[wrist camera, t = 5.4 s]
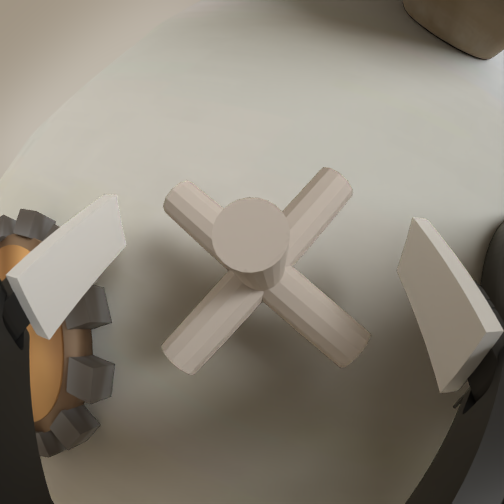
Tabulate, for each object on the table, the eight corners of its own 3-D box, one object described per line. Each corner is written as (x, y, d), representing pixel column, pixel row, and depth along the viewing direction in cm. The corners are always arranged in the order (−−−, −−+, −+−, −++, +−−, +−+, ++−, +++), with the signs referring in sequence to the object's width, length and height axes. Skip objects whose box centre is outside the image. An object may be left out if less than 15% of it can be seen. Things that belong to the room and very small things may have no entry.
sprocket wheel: (89, 181, 19) (72, 167, 17) (155, 445, 14) (138, 459, 12) (-30, 262, 19) (-45, 257, 17) (5, 441, 15) (-11, 446, 12)
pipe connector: (150, 289, 17) (31, 254, 7) (258, 173, 18) (240, 47, 8) (273, 404, 15) (265, 506, 5) (383, 274, 16) (490, 220, 6)
